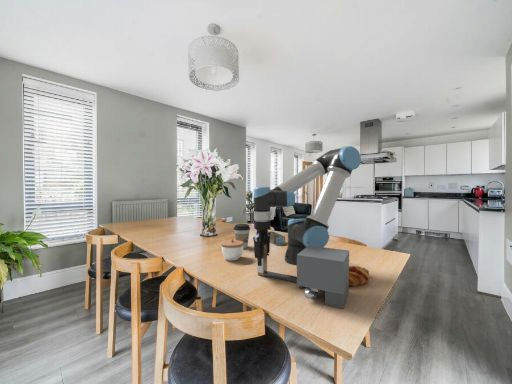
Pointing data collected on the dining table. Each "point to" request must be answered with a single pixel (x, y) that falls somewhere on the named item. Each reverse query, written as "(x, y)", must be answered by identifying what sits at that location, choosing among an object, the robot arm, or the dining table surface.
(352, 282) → the croissant
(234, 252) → the lidded bowl
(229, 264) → the dining table surface
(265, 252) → the hook tool
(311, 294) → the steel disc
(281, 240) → the beverage carton
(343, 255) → the grey l-shaped block
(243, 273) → the dining table surface
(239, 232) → the coffee cup
